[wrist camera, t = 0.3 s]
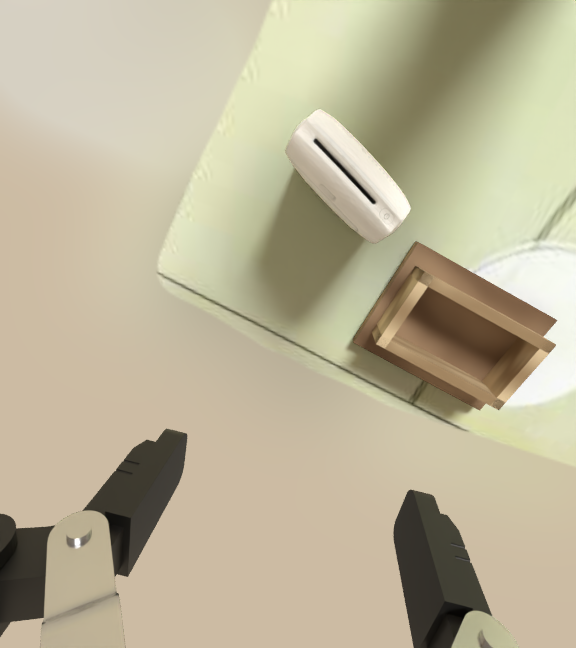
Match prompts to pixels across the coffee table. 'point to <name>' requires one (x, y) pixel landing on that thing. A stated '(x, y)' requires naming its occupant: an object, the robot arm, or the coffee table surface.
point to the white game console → (347, 177)
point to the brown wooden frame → (456, 330)
